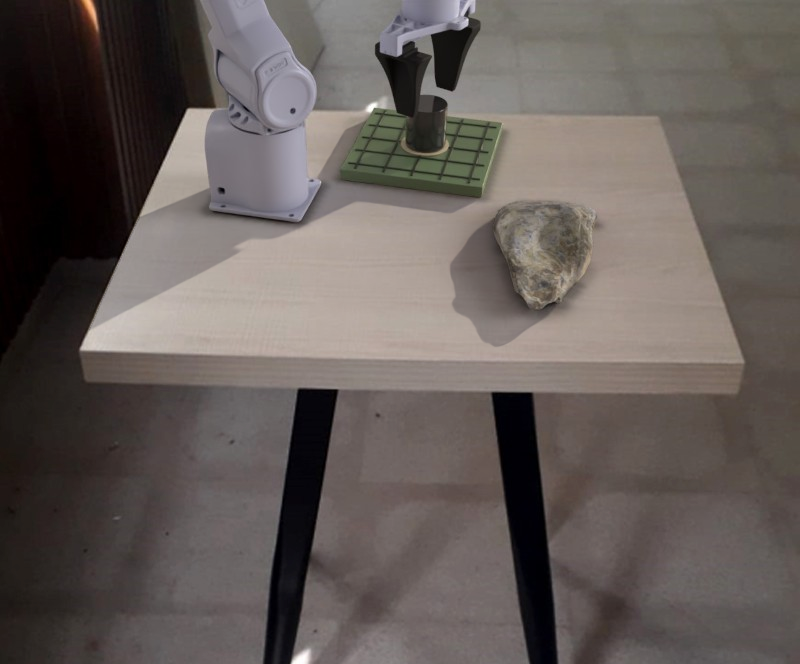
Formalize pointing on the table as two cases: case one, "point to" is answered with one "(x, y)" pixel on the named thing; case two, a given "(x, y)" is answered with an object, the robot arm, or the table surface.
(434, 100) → the dark grey cylinder
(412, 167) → the board
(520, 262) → the stone
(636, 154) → the table surface
